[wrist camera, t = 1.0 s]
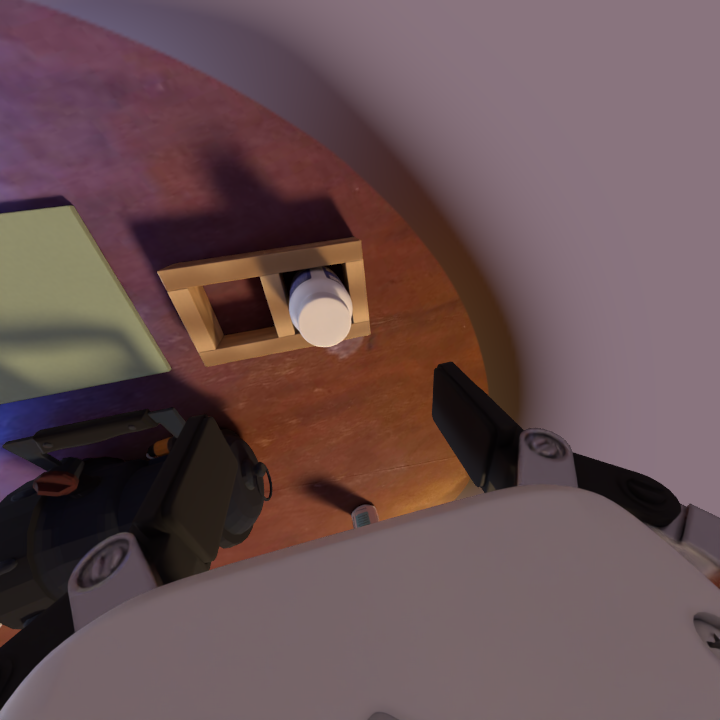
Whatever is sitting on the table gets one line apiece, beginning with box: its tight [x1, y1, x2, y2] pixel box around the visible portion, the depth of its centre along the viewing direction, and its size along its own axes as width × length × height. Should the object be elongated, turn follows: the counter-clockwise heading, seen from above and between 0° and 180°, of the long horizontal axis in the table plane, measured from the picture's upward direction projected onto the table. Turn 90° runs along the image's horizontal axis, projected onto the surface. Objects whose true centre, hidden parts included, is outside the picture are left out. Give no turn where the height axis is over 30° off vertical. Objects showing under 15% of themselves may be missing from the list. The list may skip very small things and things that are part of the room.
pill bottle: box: [289, 266, 353, 347], centre depth 23 cm, size 5×5×9 cm
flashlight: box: [0, 407, 272, 629], centre depth 26 cm, size 15×21×20 cm
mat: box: [0, 205, 171, 404], centre depth 22 cm, size 15×20×1 cm
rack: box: [157, 237, 371, 367], centre depth 25 cm, size 9×16×3 cm, turn 97°
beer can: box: [352, 505, 379, 529], centre depth 43 cm, size 5×5×12 cm
